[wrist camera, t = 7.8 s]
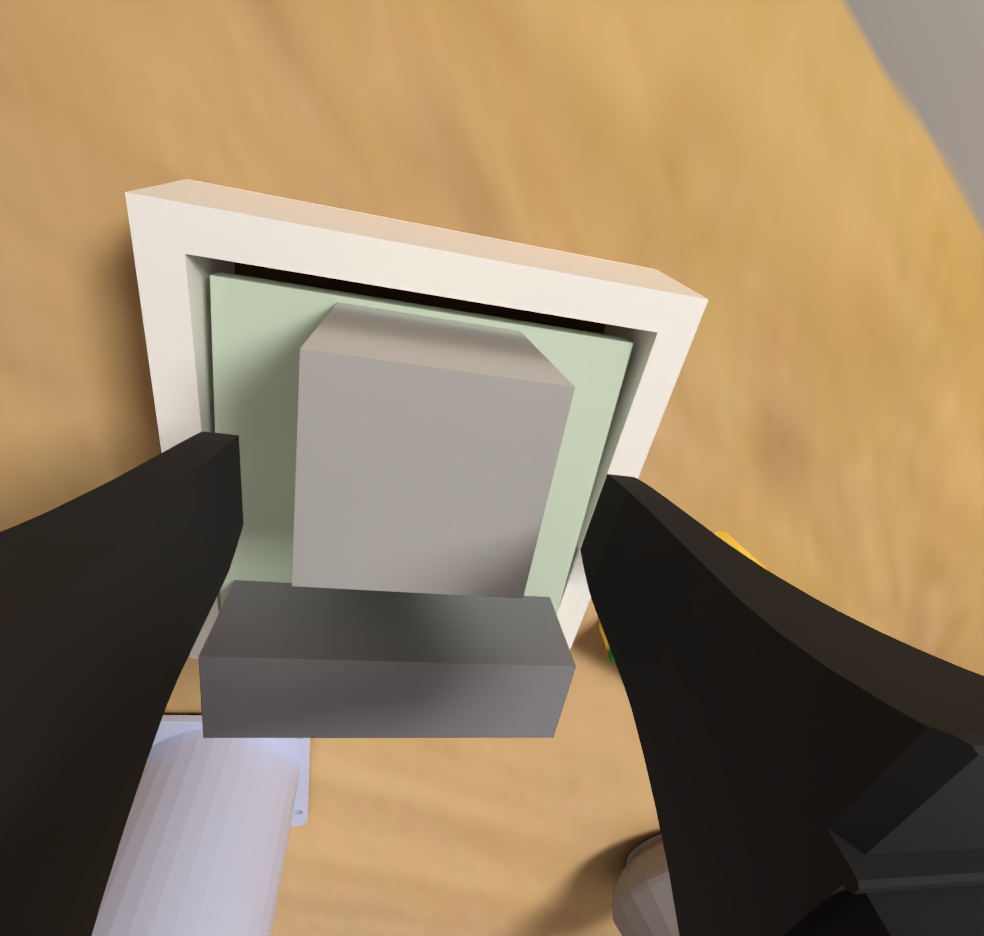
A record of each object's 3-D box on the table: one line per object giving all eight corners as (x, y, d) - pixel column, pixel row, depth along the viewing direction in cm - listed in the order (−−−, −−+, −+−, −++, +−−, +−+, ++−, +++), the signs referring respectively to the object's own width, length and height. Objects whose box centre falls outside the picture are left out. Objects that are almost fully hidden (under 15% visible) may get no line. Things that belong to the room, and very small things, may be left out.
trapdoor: (538, 645, 19) (566, 737, 16) (229, 635, 17) (186, 737, 14) (622, 337, 15) (686, 373, 12) (220, 271, 13) (153, 292, 9)
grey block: (489, 487, 15) (522, 598, 11) (327, 472, 14) (291, 585, 10) (520, 331, 14) (575, 386, 9) (337, 302, 13) (300, 348, 8)
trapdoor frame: (544, 602, 23) (563, 670, 20) (221, 585, 21) (189, 660, 18) (656, 269, 16) (710, 299, 13) (186, 178, 14) (122, 191, 11)
